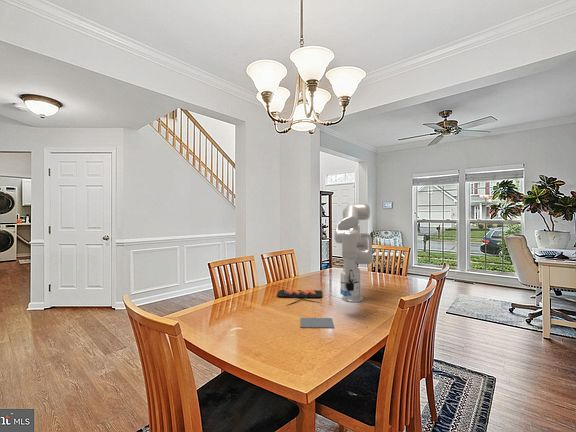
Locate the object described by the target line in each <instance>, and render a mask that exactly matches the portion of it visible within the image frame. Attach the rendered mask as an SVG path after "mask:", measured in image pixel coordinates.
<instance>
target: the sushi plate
mask: <svg viewBox="0 0 576 432" xmlns="http://www.w3.org/2000/svg"><path fill="white" fill-rule="evenodd" d="M276 296H277V297H281V298H282V297H284V298H295V299H298V300H296V301H293V302H291V303H289V304H287V305H286V304H285V307H288V306H292V305H294V304H295V303H298V302H300V301H301V300H303V301H306V302H312V303H317V304H321V302H320V301H316V300H310V299H308V298H321V297H323V291H322V290H314V289H313V290H312V289H295V288H294V289H280V290H278V292H277V295H276ZM306 298H307V299H306Z"/></svg>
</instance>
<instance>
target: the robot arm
mask: <svg viewBox="0 0 576 432" xmlns="http://www.w3.org/2000/svg"><path fill="white" fill-rule="evenodd" d="M342 217H343V219H341V220H340V221H339V222H338V223H337V224H336V226H335V230H334V241H335V242H336V243H337V244H341V258H342V260H343V263H342V264H343V266H342V267H343V268H342V270H343V271H342V272H344V273H345V277H346V278H347V277H348V283H347V290H348V291H354V281H353V278H354V277H355V272H357V273H359V295H350V296H344V295H342V296H341V300H343V301H345V302H347V303H348V302H349V303H359V302H362V301H364V298H363V296H361V269H360V268H359V267H358V265H370V264H371V263H372V262H373V238H372V236H371V234H369V233H367V232H366V233H361V228H360V225H359V222H360V221H367V220H369V219H370V217H371V208H370V206H369V204H367V203H350V204H347V205H346V207H345V208H344V209H343V210H342ZM349 272H350V273H349ZM353 275H354V276H353ZM349 276H350V277H349ZM349 278H350V279H349Z"/></svg>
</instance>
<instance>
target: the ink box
mask: <svg viewBox="0 0 576 432" xmlns="http://www.w3.org/2000/svg"><path fill="white" fill-rule="evenodd" d="M349 273H350V272H349ZM353 276H354V275H353ZM349 277H350V276H349ZM349 279H350V278H349ZM353 281H354V291H348V290H347V283H348V277H347V278H346V277H345V273H344V272H343V271H341V272H340V295H342V296H350V295H359V273H357V272H355V277H354V278H353Z"/></svg>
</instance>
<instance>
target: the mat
mask: <svg viewBox="0 0 576 432" xmlns="http://www.w3.org/2000/svg"><path fill="white" fill-rule="evenodd" d="M299 328H301V329H335V325H334V321H333V318H332V317H300V327H299Z"/></svg>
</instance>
